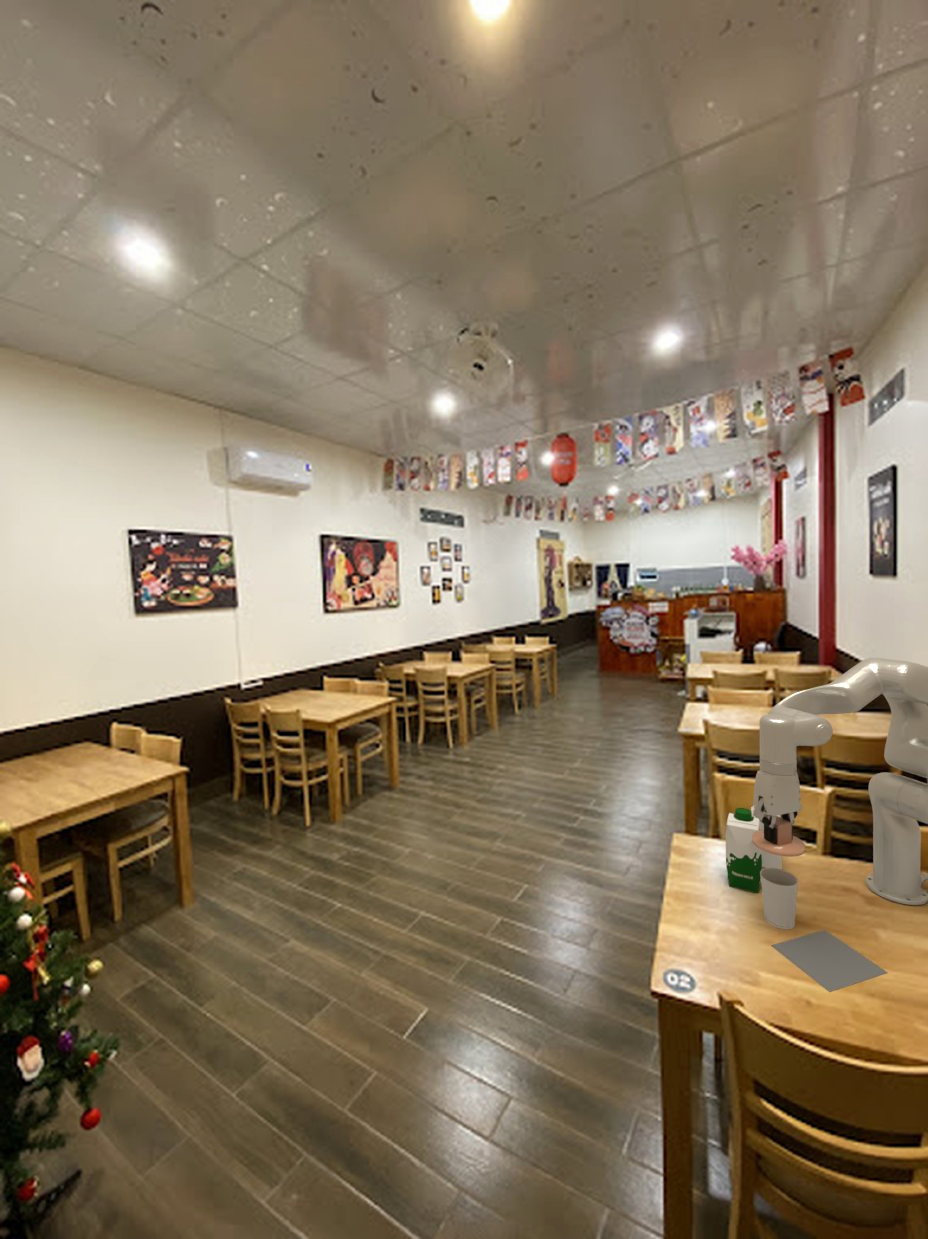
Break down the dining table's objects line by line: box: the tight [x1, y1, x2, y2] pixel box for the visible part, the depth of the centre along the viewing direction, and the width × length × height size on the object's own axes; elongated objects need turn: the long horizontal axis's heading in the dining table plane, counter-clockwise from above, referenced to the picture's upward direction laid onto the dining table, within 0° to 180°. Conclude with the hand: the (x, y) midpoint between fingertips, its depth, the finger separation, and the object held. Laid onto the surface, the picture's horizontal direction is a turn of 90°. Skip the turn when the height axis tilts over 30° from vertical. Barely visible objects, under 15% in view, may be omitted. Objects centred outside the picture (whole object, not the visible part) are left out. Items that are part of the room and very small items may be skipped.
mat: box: [770, 929, 889, 993], centre depth 110 cm, size 16×14×1 cm
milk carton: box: [750, 804, 783, 870], centre depth 149 cm, size 7×7×19 cm
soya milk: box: [724, 807, 763, 894], centre depth 139 cm, size 9×9×20 cm
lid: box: [752, 816, 806, 858], centre depth 122 cm, size 11×11×6 cm
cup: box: [760, 868, 799, 930], centre depth 123 cm, size 8×8×12 cm
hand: (778, 839), depth 122 cm, fingers closed on lid, 4 cm apart
